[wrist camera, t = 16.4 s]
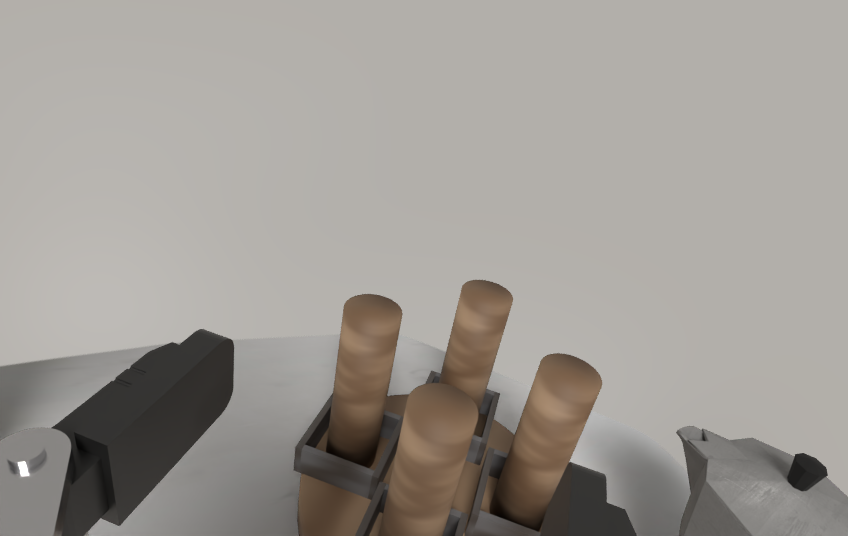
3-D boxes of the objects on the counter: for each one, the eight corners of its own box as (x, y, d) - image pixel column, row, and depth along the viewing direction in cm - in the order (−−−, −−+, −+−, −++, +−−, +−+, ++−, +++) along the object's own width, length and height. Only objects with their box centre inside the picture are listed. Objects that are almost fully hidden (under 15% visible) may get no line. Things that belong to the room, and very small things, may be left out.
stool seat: (242, 574, 37) (246, 383, 29) (357, 391, 54) (380, 241, 46) (532, 698, 33) (630, 522, 25) (556, 461, 51) (618, 311, 43)
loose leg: (364, 577, 35) (396, 419, 28) (385, 526, 39) (419, 374, 32) (422, 601, 34) (470, 445, 28) (439, 547, 38) (484, 396, 31)
